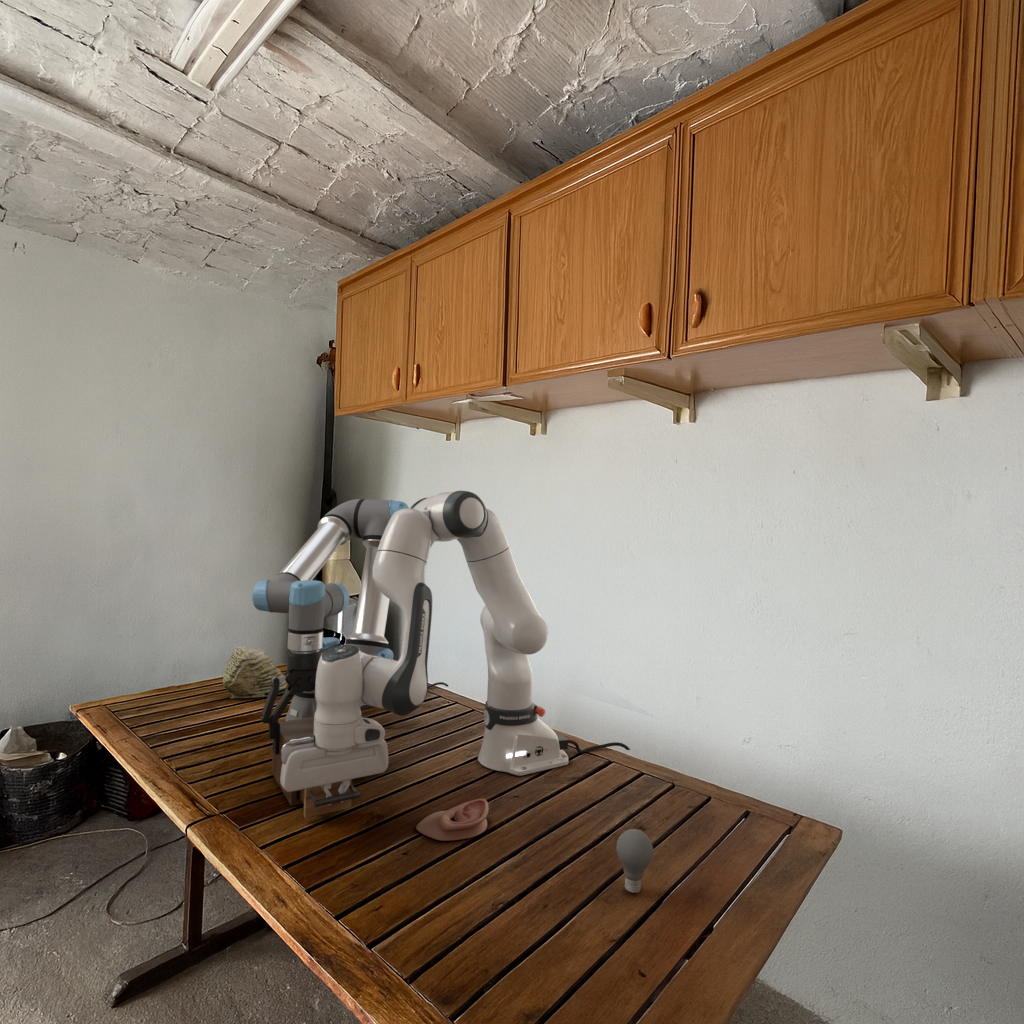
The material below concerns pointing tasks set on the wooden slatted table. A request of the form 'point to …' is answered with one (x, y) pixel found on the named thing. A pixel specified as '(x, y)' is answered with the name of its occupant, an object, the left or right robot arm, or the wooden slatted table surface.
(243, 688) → the fossil
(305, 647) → the left robot arm
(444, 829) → the anatomical model
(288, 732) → the cabinet
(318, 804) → the drawer
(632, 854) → the light bulb
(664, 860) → the wooden slatted table surface
